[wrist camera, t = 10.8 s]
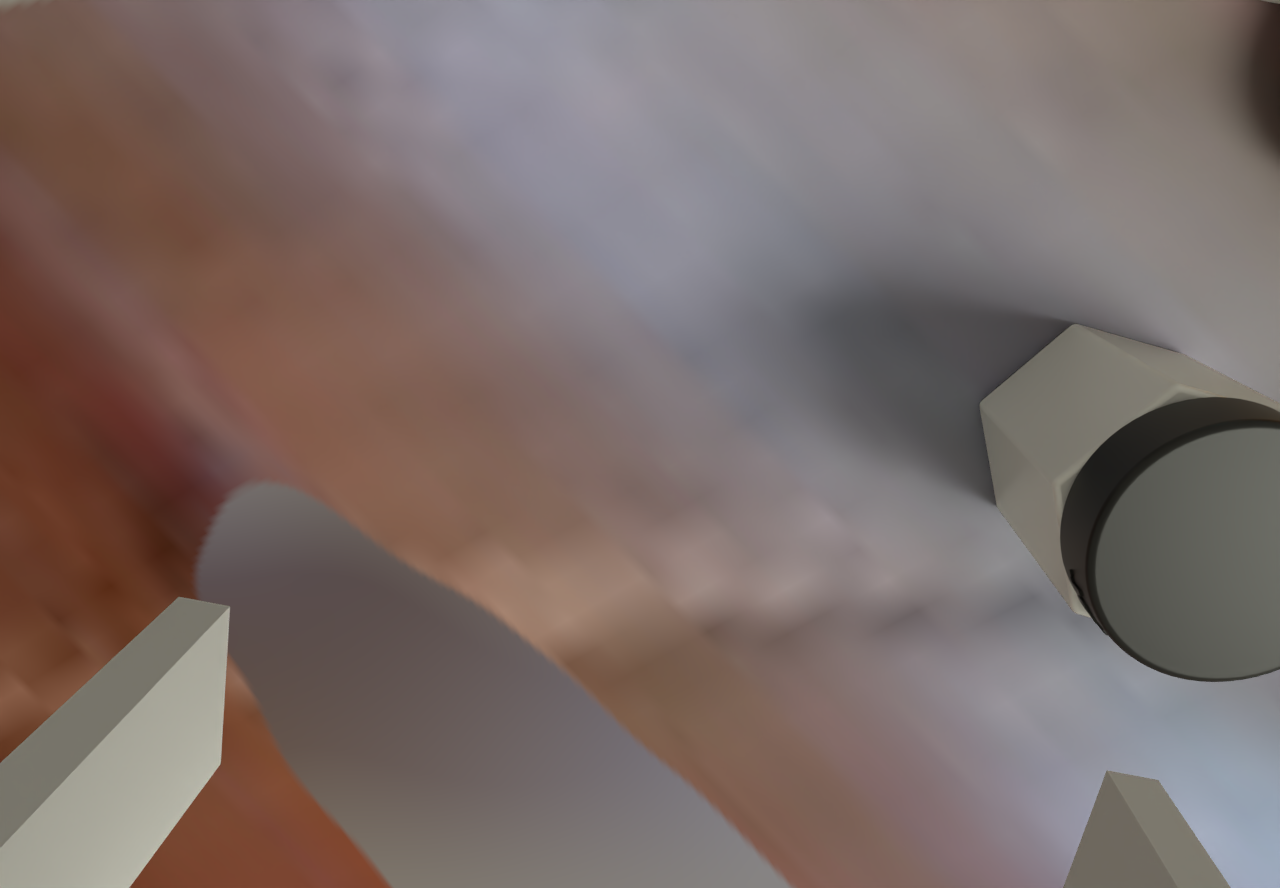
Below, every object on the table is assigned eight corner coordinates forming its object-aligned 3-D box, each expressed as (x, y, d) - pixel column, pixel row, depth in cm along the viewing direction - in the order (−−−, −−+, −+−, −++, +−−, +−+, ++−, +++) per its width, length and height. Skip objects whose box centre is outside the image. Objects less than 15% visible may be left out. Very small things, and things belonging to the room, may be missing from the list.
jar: (940, 496, 42) (1028, 641, 31) (1016, 302, 40) (1143, 381, 28) (1153, 556, 42) (1318, 721, 31) (1242, 366, 40) (1457, 470, 28)
